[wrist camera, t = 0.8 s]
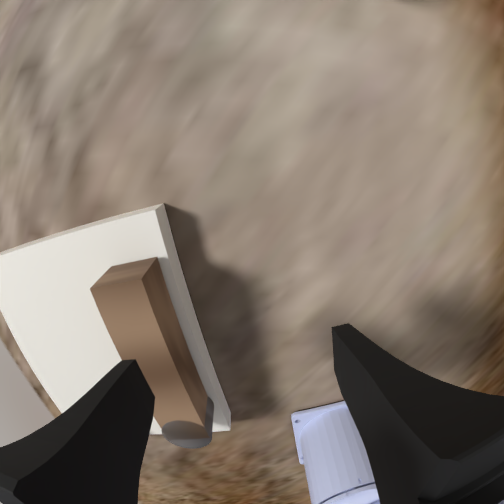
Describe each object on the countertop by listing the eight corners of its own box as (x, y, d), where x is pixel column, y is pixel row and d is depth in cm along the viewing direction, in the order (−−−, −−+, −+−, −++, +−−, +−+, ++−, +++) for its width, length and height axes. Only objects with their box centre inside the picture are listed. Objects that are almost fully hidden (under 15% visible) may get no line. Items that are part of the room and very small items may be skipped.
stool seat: (230, 412, 23) (230, 453, 19) (81, 416, 24) (66, 447, 20) (163, 203, 18) (140, 220, 13) (-4, 253, 18) (-38, 274, 14)
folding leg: (219, 416, 20) (217, 447, 18) (177, 419, 21) (172, 449, 18) (160, 256, 16) (145, 278, 13) (108, 267, 16) (86, 289, 13)
